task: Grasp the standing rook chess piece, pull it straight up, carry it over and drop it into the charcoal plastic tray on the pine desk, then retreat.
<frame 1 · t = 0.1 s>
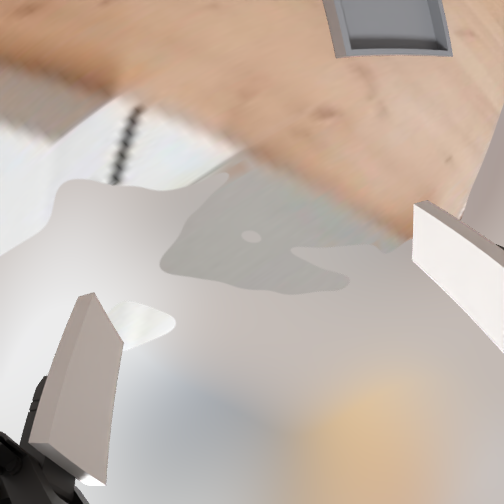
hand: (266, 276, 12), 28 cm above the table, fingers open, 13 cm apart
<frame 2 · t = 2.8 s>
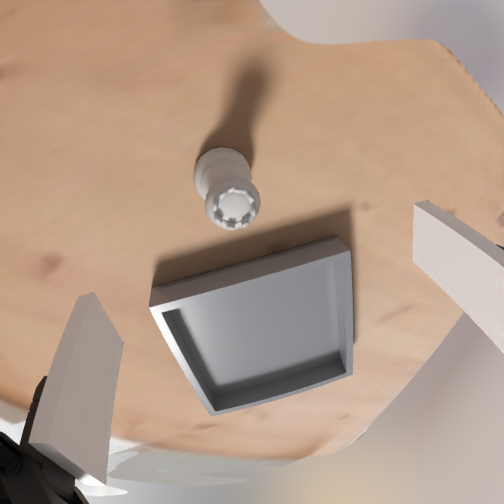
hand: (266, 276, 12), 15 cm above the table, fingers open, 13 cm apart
rook chess piece: (221, 173, 25), on the table
tray: (263, 331, 33), on the table
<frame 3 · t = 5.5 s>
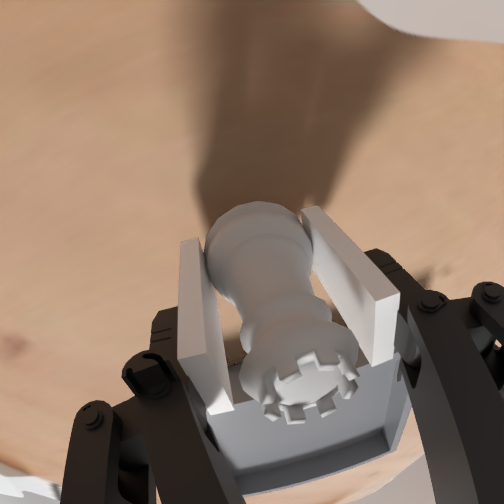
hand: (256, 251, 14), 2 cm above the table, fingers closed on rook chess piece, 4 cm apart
rook chess piece: (254, 243, 14), point 1 cm above the table, touching gripper
tray: (299, 419, 24), on the table
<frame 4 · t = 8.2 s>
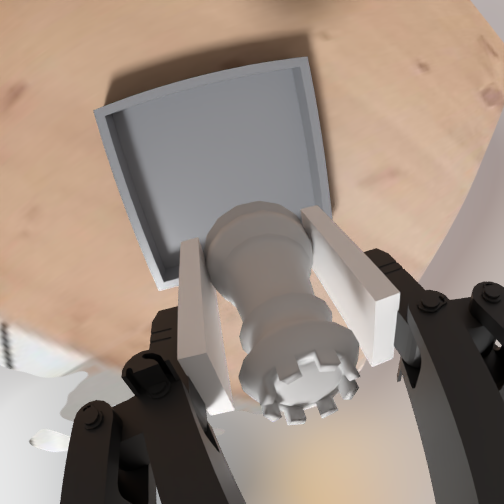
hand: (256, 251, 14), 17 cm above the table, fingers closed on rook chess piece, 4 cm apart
rook chess piece: (254, 243, 14), point 16 cm above the table, touching gripper
tray: (221, 170, 29), on the table
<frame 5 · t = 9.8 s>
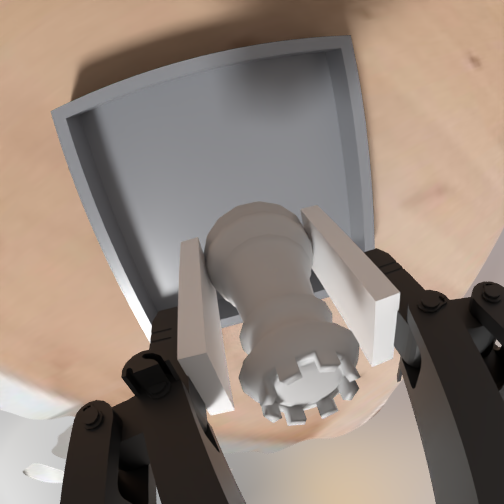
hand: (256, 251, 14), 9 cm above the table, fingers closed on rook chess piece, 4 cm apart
rook chess piece: (254, 244, 14), point 8 cm above the table, touching gripper
tray: (230, 189, 21), on the table
when the fingers open (3 cm above the table, at t = 11.2 s): rook chess piece drops 2 cm, resting on tray.
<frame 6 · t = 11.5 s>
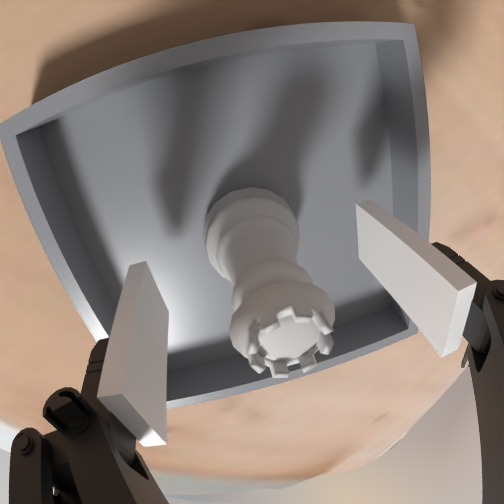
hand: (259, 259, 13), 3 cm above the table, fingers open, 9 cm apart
rook chess piece: (248, 227, 16), resting on tray
tray: (246, 226, 16), on the table
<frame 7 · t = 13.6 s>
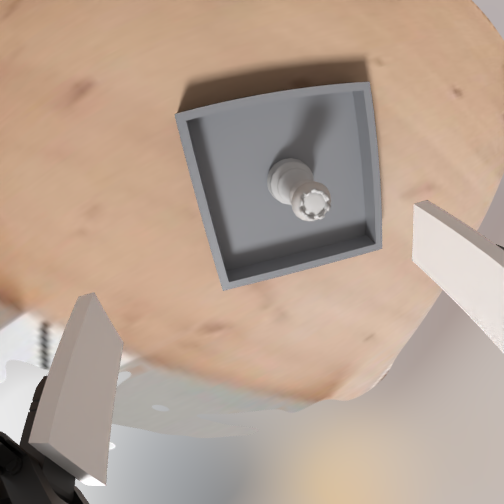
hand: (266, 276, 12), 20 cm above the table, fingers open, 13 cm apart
rook chess piece: (287, 179, 31), resting on tray
tray: (286, 179, 31), on the table
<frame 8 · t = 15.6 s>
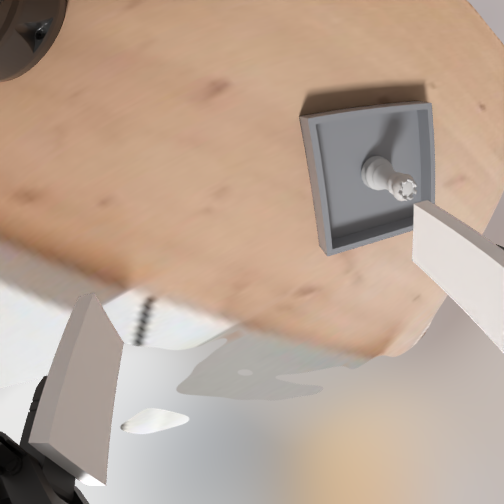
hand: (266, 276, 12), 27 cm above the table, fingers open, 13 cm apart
rook chess piece: (373, 170, 39), resting on tray
tray: (371, 171, 40), on the table
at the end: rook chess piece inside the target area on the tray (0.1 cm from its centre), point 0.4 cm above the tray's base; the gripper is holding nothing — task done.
